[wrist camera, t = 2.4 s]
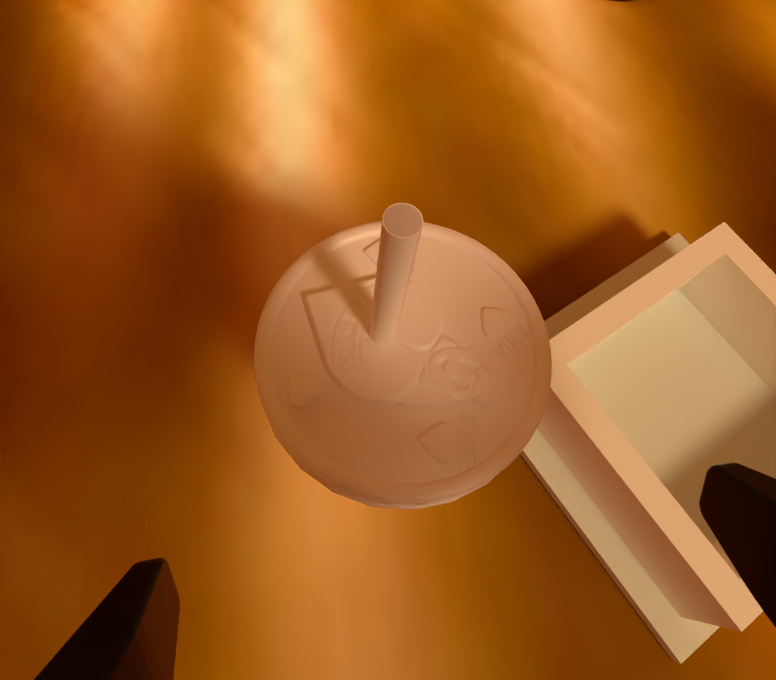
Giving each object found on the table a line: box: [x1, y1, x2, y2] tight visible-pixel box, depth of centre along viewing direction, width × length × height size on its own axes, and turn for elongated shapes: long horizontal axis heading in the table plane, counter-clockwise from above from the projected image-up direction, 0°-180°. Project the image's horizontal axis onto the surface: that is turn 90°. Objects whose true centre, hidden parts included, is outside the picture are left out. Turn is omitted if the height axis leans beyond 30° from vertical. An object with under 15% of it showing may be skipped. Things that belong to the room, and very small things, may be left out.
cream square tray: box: [520, 222, 776, 664], centre depth 20 cm, size 12×12×4 cm
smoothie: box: [254, 203, 552, 510], centre depth 14 cm, size 6×6×14 cm
